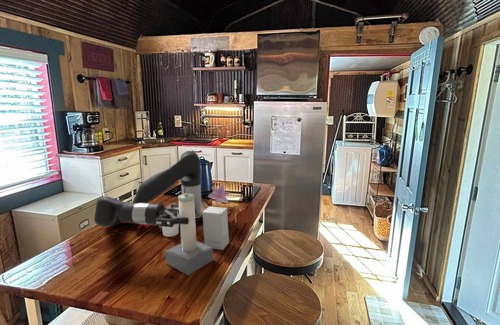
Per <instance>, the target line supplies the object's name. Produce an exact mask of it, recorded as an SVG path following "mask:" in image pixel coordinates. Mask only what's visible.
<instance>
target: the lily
mask: <svg viewBox="0 0 500 325" xmlns="http://www.w3.org/2000/svg"><path fill="white" fill-rule="evenodd" d="M211 188H212V191H213V192H211V193H210V194H208V196H207V197H208V198H210V199H214V200H215V201H214V202H215V205H216V206H217V205H218V204H219V203H220V202H222V203H224V204H227V205H228V204H229V201H228V198H227V196H228V195H230V194H231V193H230V192H229V191H225V185H224V183H221V184H220V185H219V187H215V186H211Z"/></svg>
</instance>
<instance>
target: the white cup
mask: <svg viewBox="0 0 500 325" xmlns="http://www.w3.org/2000/svg"><path fill="white" fill-rule="evenodd" d="M177 214H178V212H177ZM177 218H178V217H177ZM167 224H169V223H168V222H167ZM179 228H180V224H177V225H173V227H163V226H161V230H162V235H163V236H164V237H168V238H169V237H175V236H177V235H178V234H180V233H179V231H180V230H179Z"/></svg>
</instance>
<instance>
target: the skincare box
mask: <svg viewBox="0 0 500 325" xmlns="http://www.w3.org/2000/svg"><path fill="white" fill-rule="evenodd" d="M228 222H229V221H228V207H219V206H212V205H211V206H210V205H209V206H208V207H207V208H205V209H204V210H202V225H203V227H202V228H203V239H204V244H205V245H208V246H210V247H212V248H213V250H218V251H219V250H220V251H224V249H225V248H226V247H227V245H229V243H230V240H229V237H230V236H229V224H228Z"/></svg>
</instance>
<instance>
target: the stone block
mask: <svg viewBox="0 0 500 325" xmlns="http://www.w3.org/2000/svg"><path fill="white" fill-rule="evenodd" d="M196 243H197V248H196V249H195V250H194V251H191V252H184V251H182V247H181V242H180V243H179V244H177V245H175V246H172V247H170V248H168V249H166V250H165V251H164V253H165V254H164V255H165V256H164V257H165V264H166V265H168V266H170V267H171V268H173V269H175V270H177V271H179V272H180V273H183V274H184V275H186V276H190V275H191V274H193V273H195V272H196V271H198V270H200V269H201V268H202V267H204V266H206V265H208V264H209V263H212V261H214V249H213V248H212V247H210V246H208V245H205V243H203V242H200V241H198V240H196Z"/></svg>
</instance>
